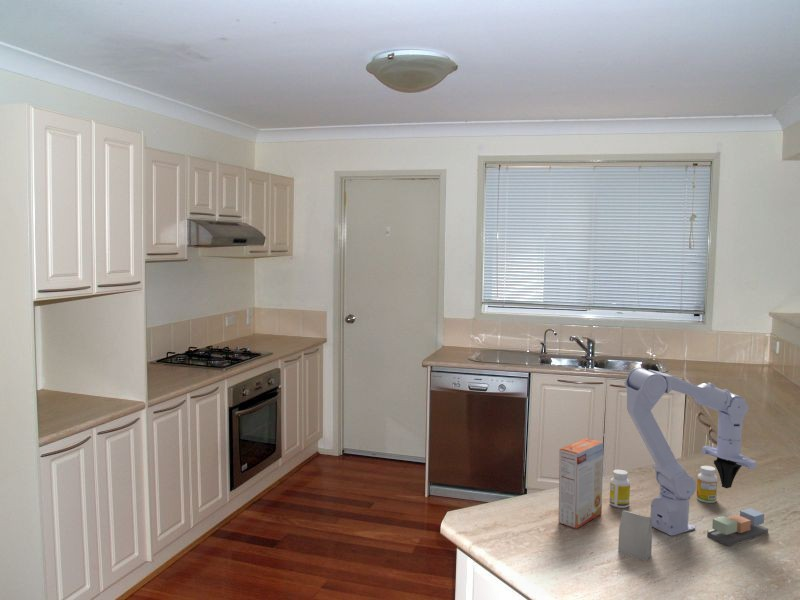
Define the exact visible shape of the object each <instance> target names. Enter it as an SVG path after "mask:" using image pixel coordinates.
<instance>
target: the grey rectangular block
mask: <svg viewBox="0 0 800 600" xmlns="http://www.w3.org/2000/svg"><path fill="white" fill-rule="evenodd" d="M620 516H621V517H620V522H619V529H618V545H617V546H618V547H617V552H618V553H620V554H623V555H626V556H631V557H632V558H636V559H639V560H642V561H645V562H646V561H648V559H650V557H651V556H652V546H653V544H652V543H653V542H652V541H653V529H652V528H653V527H652V526H651V517H650V516H647V515H642V514H639V513H636V512H631V511H629V510H625V509H623V510H622V511H621V515H620Z"/></svg>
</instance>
